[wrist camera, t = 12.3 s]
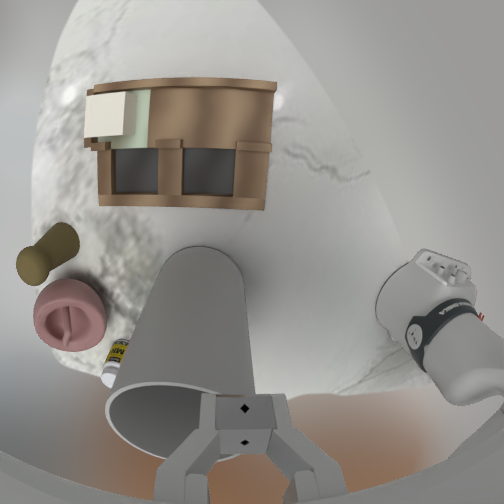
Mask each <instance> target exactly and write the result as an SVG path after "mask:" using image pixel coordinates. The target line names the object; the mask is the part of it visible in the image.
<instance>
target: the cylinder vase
mask: <svg viewBox="0 0 504 504" xmlns="http://www.w3.org/2000/svg"><path fill="white" fill-rule="evenodd" d="M202 393H207V394H228V395H248V394H255V386H254V377H253V368H252V359H251V350H250V340H249V331H248V321H247V311H246V302H245V292H244V282H243V278H242V275H241V272H240V270H239V268H238V267H237V265H236V264H235V263H234V262H233V261H232V260H231V259H230V258H229V257H228V256H226V255H225V254H223V253H221V252H219V251H217V250H215V249H211V248H207V247H191V248H186V249H183V250H181V251H179V252H177V253H175V254H174V255H172V256H171V257H170V258H169V259H168V260H167V261H166V262H165V263H164V265H163V267H162V268H161V271H160V273H159V275H158V277H157V279H156V281H155V284H154V286H153V288H152V290H151V292H150V295H149V297H148V299H147V301H146V304H145V306H144V308H143V311H142V313H141V315H140V318H139V320H138V322H137V325H136V327H135V329H134V332H133V334H132V337H131V339H130V342H129V344H128V347H127V349H126V352H125V354H124V357H123V359H122V362H121V364H120V367H119V370H118V372H117V375H116V378H115V380H114V383H113V386H112V388H111V391H110V394H109V397H108V400H107V402H106V406H105V413H106V417H107V420H108V422H109V424H110V425H111V427H112V428H113V430H114V431H115V432H116V433H117V434H118V435H119V436H120V437H121V438H122V439H124V440H125V441H126V442H127V443H129V444H131V445H132V446H134V447H135V448H137V449H139V450H141V451H143V452H145V453H148V454H150V455H153V456H156V457H159V458H162V459H167V458H168V457H169V456H170V455H171V454H172V453H173V452H174V451H175V450H176V449H177V448H178V447H179V446H180V445H181V444H182V443H183V442H184V440H185V439H186V438H187V437H188V436H189V435H190V434H191V433H192V432H193V431H194V430H195V429H199V423H200V407H201V396H202ZM220 455H221V456H220V457H219V458H218V460H217V461H216V462H218V461H223V460H227V459H231V458H233V457H236V456H238V455H240V454H220Z"/></svg>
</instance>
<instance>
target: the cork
mask: <svg viewBox="0 0 504 504" xmlns="http://www.w3.org/2000/svg"><path fill="white" fill-rule="evenodd" d="M79 248H80V241H79V237H78V235H77V233H76V231H75V230H74V229H73V228H72V227H71V226H70V225H68V224H67V223H62V222H61V223H57V224H55V225H54V226H53V227H52V228H51V229H50V230H49V231H48V232H47V233H46V234H45V235H44V236H43V237H42V238H41V239H40V240H39V241H38V242H37V243H36V244H35V245H34V246H29V247H26V248H24V249H23V250H22V251H21V252H20V253H19V255H18V257H17V262H16V268H17V272H18V274H19V276H20V278H21V279H22V280H23V281H24V282H25V283H26V284H28V285H31V286H38V285H40V284H42V283H43V282H44V281H45V280H46V279H47V277H48V275H49V272H50V271H51V270H53V269H55V268H56V267H58V266H60V265H61V264H63V263H65V262H66V261H68V260H70V259H71V258H73V257H75V256H76V255H77V253H78V251H79Z"/></svg>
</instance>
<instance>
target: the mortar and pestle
mask: <svg viewBox="0 0 504 504" xmlns="http://www.w3.org/2000/svg"><path fill="white" fill-rule="evenodd" d="M33 317H34V326H35V329H36V332H37V334H38V336H39V337H40V339H42V340H43V341H44V342H45V343H46V344H48V345H49V346H50V347H53V348H56V349H59V350H62V351H69V352H78V351H84V350H87V349H90V348H92V347H94V346H96V345H97V344H98V343H99V342H100V341H101V340H102V339H103V337H104V334H105V330H106V312H105V308H104V305H103V303H102V301H101V299H100V297H99V296H98V295H97V293H96V292H95V291H94V290H93V289H92V288H91V287H90V286H88V285H87V284H85V283H83V282H81V281H79V280H75V279H60V280H56V281H54V282H52V283H50V284H49V285H47V286H46V287H45V288H44V289H43V290H42V291H41V293H40V294H39V296H38V298H37V300H36V303H35V306H34V315H33Z"/></svg>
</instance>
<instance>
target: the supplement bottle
mask: <svg viewBox="0 0 504 504" xmlns="http://www.w3.org/2000/svg"><path fill="white" fill-rule="evenodd" d="M128 344H129V341H127V340H117V341H115V342H114V344H113V346H112V348H111V350H110V352H109V354H108V356H107V359H106V361H105V363H104V366H103V372H102V375H101V380H102V382H103V383H104V384H105V385H106V386H107V387H109V388H112V386H113V383H114V380H115V378H116V375H117V372H118V370H119V367H120V364H121V362H122V359H123V357H124V354H125V352H126V349H127V347H128Z"/></svg>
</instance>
